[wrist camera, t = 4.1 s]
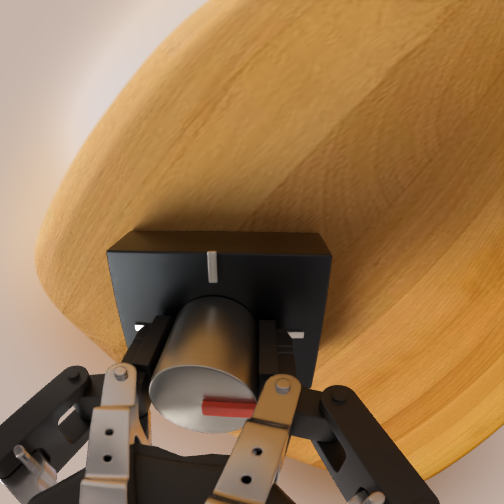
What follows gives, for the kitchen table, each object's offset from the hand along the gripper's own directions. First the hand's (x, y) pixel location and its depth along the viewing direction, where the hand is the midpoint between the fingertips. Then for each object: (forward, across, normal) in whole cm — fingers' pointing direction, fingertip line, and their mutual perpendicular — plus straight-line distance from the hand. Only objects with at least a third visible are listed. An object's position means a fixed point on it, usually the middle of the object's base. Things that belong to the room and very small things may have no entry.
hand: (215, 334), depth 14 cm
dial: (0, 0, 0) cm, 0 cm away
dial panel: (+3, 0, 0) cm, 3 cm away
